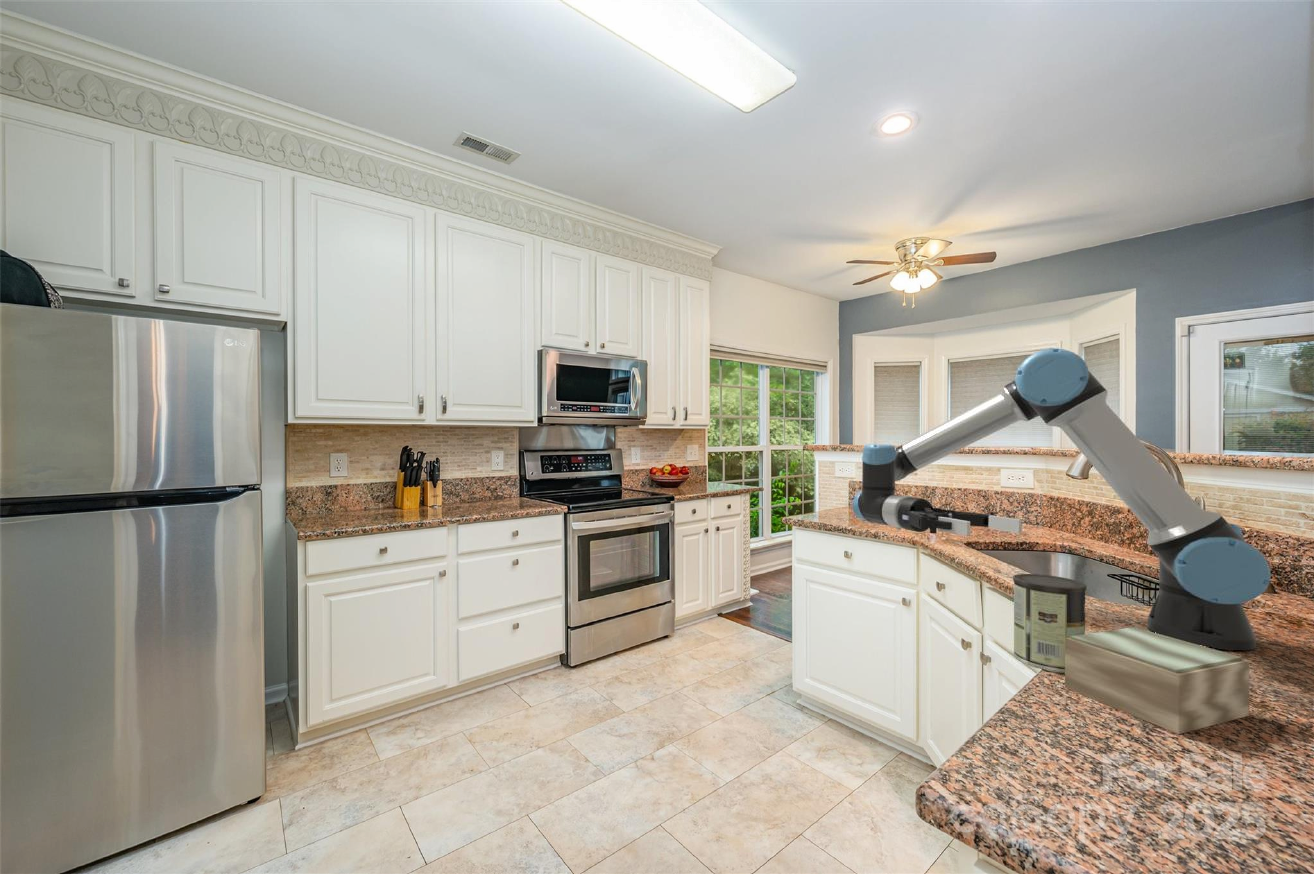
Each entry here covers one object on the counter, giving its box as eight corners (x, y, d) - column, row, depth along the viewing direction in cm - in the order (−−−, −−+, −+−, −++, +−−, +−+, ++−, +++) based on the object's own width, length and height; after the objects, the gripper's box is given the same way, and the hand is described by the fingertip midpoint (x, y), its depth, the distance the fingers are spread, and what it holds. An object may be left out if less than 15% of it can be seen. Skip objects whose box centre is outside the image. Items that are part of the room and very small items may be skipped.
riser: (1131, 674, 88) (1131, 625, 88) (1249, 715, 75) (1249, 658, 75) (1064, 687, 83) (1065, 635, 83) (1178, 734, 69) (1178, 672, 70)
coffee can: (1065, 653, 97) (1065, 575, 97) (1100, 677, 87) (1100, 590, 87) (1002, 648, 99) (1002, 571, 99) (1029, 670, 89) (1029, 585, 89)
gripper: (949, 528, 126) (1040, 544, 106) (864, 531, 118) (945, 550, 98) (950, 496, 127) (1041, 507, 107) (864, 497, 118) (945, 509, 98)
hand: (995, 527), depth 102 cm, fingers open, 13 cm apart
